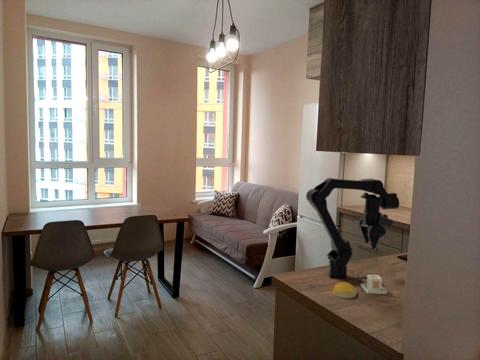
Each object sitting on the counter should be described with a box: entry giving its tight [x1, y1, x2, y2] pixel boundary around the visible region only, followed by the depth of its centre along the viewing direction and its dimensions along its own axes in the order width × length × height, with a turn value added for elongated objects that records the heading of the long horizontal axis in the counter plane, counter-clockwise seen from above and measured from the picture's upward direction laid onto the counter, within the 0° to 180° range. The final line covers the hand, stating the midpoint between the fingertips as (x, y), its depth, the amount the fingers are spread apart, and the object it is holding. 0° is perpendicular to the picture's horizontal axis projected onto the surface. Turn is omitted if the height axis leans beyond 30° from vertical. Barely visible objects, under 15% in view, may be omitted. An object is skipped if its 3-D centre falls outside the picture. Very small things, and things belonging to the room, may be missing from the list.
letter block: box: [366, 274, 383, 291], centre depth 135 cm, size 4×4×5 cm
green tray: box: [360, 282, 388, 295], centre depth 135 cm, size 7×7×1 cm
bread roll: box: [332, 281, 357, 299], centre depth 131 cm, size 8×9×4 cm
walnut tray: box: [357, 275, 384, 287], centre depth 143 cm, size 7×7×1 cm
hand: (370, 245), depth 149 cm, fingers open, 9 cm apart
